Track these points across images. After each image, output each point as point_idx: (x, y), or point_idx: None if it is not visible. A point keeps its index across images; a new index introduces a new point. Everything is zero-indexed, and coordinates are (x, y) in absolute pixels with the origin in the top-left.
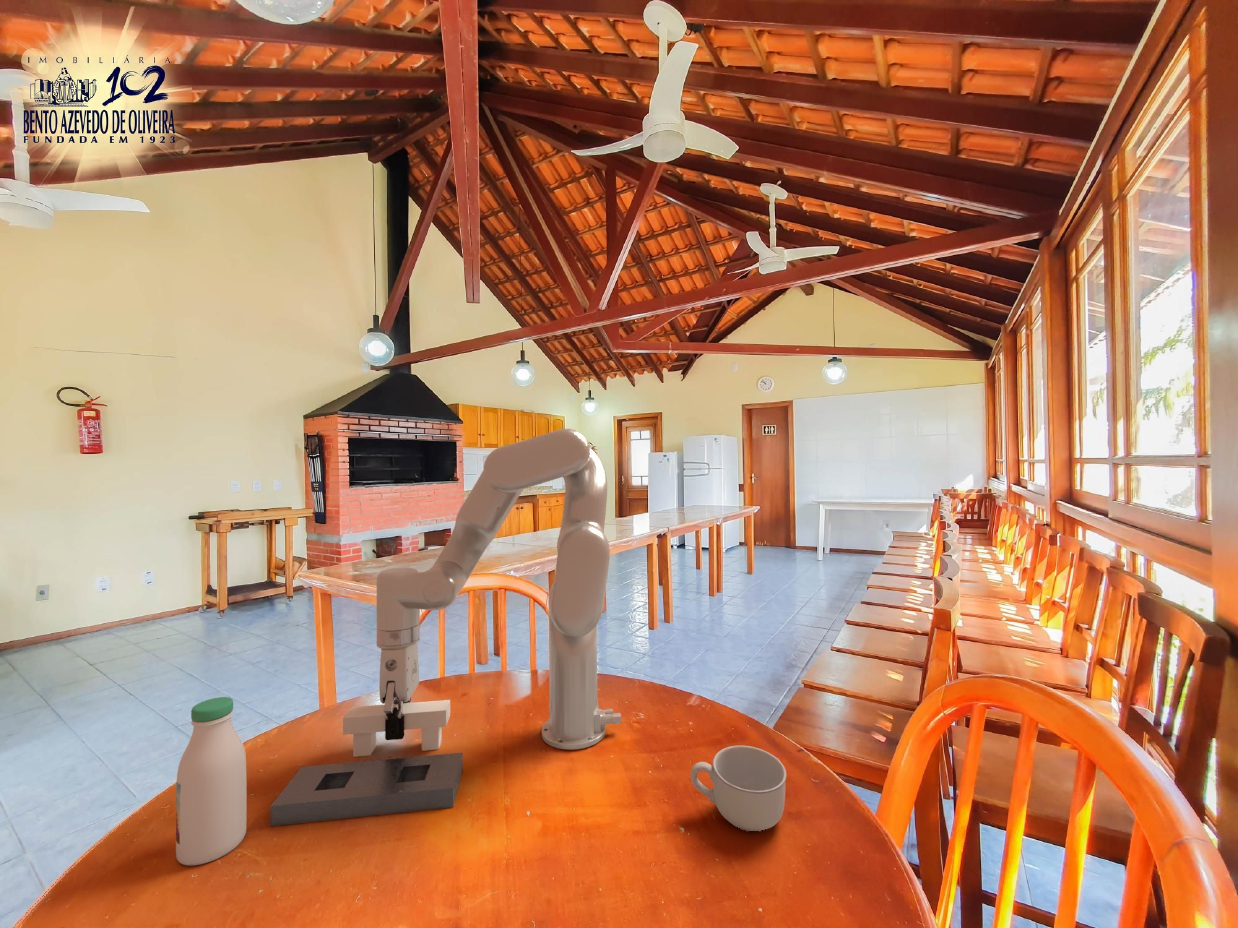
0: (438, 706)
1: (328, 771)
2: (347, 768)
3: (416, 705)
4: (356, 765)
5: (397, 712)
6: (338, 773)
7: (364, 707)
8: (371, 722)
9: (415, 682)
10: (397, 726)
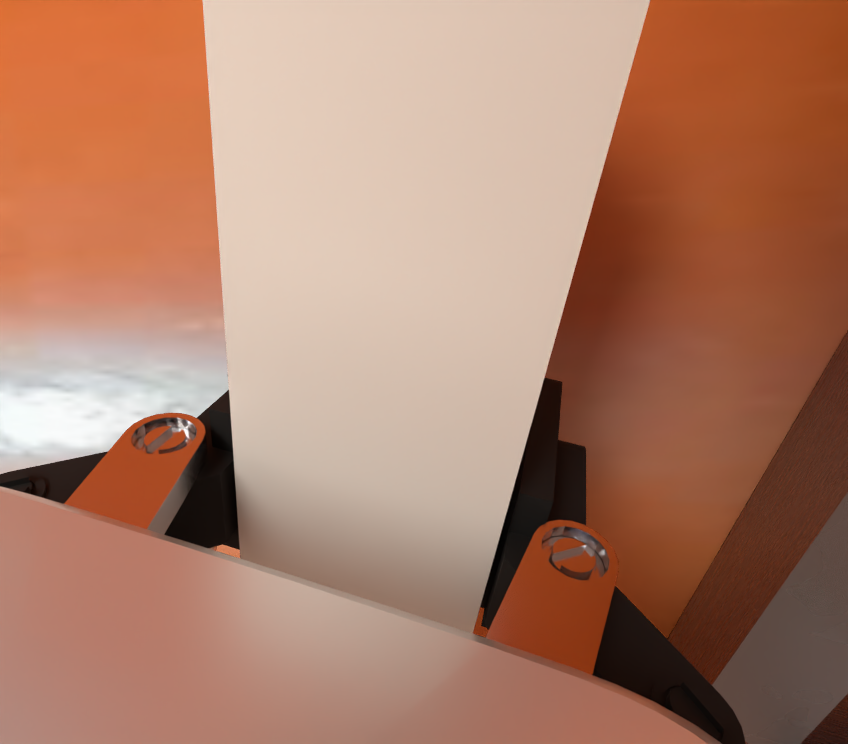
0: (439, 22)
1: (773, 736)
2: (807, 675)
3: (316, 370)
4: (798, 637)
5: (605, 634)
6: (831, 706)
7: None
8: None
9: (53, 665)
10: (585, 499)
